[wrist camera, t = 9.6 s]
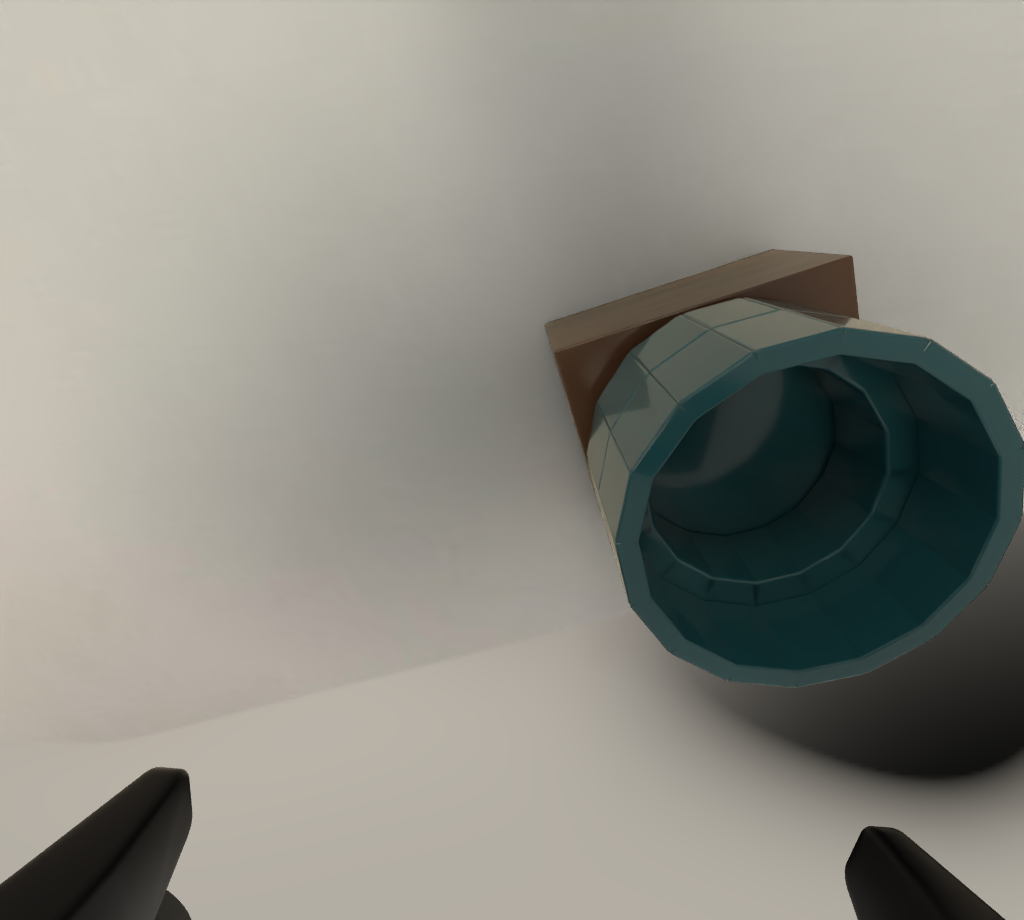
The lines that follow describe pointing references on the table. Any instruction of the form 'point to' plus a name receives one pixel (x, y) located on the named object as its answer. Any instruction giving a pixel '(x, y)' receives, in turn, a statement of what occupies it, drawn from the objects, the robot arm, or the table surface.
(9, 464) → the table surface
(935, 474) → the bowl
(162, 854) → the robot arm
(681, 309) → the stand
